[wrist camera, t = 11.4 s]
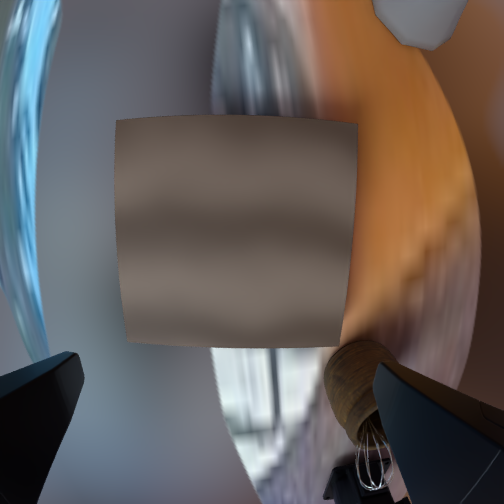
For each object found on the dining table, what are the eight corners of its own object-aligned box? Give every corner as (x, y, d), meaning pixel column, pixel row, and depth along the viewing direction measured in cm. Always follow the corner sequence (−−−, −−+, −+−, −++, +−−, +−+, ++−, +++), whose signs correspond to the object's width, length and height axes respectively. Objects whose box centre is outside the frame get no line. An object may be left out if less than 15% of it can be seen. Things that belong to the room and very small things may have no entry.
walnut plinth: (329, 329, 22) (338, 346, 20) (137, 325, 22) (127, 341, 19) (344, 129, 19) (357, 123, 16) (130, 126, 18) (116, 120, 16)
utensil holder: (306, 373, 23) (343, 498, 11) (368, 320, 22) (450, 426, 11) (347, 407, 24) (392, 515, 13) (404, 360, 23) (476, 456, 12)
